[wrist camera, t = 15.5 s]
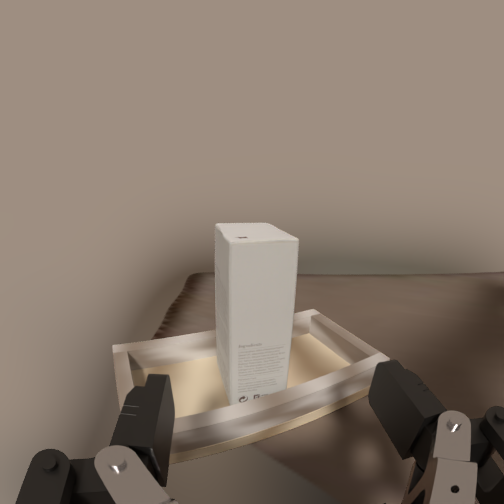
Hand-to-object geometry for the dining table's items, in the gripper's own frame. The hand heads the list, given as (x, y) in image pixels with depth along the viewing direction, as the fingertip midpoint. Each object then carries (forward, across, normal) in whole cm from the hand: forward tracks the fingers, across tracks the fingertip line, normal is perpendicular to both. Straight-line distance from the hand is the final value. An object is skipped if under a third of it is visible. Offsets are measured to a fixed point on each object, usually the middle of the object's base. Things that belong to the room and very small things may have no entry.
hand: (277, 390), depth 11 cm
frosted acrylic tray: (+11, 0, +9) cm, 14 cm away
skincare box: (+10, 0, +8) cm, 13 cm away
